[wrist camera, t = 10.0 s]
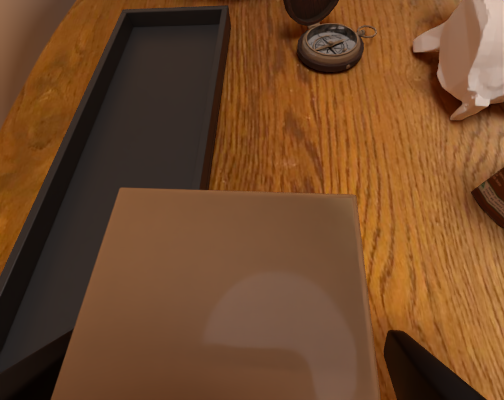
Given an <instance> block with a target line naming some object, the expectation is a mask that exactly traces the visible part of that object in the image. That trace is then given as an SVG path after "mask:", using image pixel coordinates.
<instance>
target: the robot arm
mask: <svg viewBox="0 0 504 400" xmlns="http://www.w3.org/2000/svg"><path fill="white" fill-rule="evenodd" d="M73 330H74V329H72V330H70V331H69V332H67V333H65V334H64V335H62V336H60V337H59V338H57V339H56V340H54V341H52V342H51V343H49V344H47V345H46V346H44V347H42V348H41V349H39V350H37V351H36V352H34V353H32V354H31V355H29V356H27V357H26V358H24V359H22V360H21V361H19V362H17V363H16V364H14V365H13V366H11V367H9V368H8V369H6V370H4V371H3V372H1V373H0V400H51V397H52V394H53V391H54V388H55V385H56V382H57V379H58V376H59V373H60V370H61V367H62V364H63V361H64V358H65V354H66V351H67V348H68V345H69V342H70V339H71V336H72V333H73ZM384 358H385V361H386V364H387V368H388V371H389V374H390V378H391V381H392V384H393V388H394V391H395V394H396V398H397V400H486V399H485V398H484V397H483V396H482V395H480V394H479V393H478V392H477V391H476V390H474V389H473V388H472V387H471V386H470V385H468V384H467V383H466V382H465V381H463V380H462V379H461V378H460V377H459V376H457V375H456V374H455V373H454V372H453V371H451V370H450V369H449V368H448V367H446V366H445V365H444V364H443V363H442V362H440V361H439V360H438V359H437V358H436V357H434V356H433V355H432V354H431V353H430V352H428V351H427V350H426V349H425V348H423V347H422V346H421V345H420V344H419V343H417V342H416V341H415V340H414V339H413V338H411V337H410V336H409V335H408V334H406V333H405V332H404V331H400V330H389V331H388V333H387V337H386V342H385V346H384Z"/></svg>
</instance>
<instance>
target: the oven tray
mask: <svg viewBox="0 0 504 400" xmlns="http://www.w3.org/2000/svg"><path fill="white" fill-rule="evenodd" d="M230 29H231V24H230V16H229V8H228V6H202V7H177V8H151V9H126V10H122V13H121V15H120V17H119V19H118V21H117V23H116V26H115V28H114V30H113V32H112V34H111V36H110V39H109V41H108V43H107V45H106V47H105V49H104V52H103V54H102V56H101V58H100V60H99V63H98V65H97V67H96V69H95V71H94V73H93V76H92V78H91V80H90V82H89V84H88V86H87V89H86V91H85V93H84V95H83V97H82V99H81V102H80V104H79V106H78V108H77V110H76V113H75V115H74V117H73V119H72V121H71V123H70V126H69V128H68V130H67V132H66V134H65V136H64V139H63V141H62V143H61V145H60V147H59V149H58V152H57V154H56V156H55V158H54V160H53V163H52V165H51V167H50V169H49V171H48V173H47V176H46V178H45V180H44V182H43V184H42V186H41V189H40V191H39V193H38V195H37V197H36V199H35V202H34V204H33V206H32V208H31V210H30V213H29V215H28V217H27V219H26V221H25V223H24V226H23V228H22V230H21V232H20V234H19V236H18V239H17V241H16V243H15V245H14V247H13V249H12V252H11V254H10V256H9V258H8V260H7V263H6V265H5V267H4V269H3V271H2V273H1V276H0V373H1V372H3V371H4V370H6V369H8V368H9V367H11V366H13V365H14V364H16V363H17V362H19V361H21V360H22V359H24V358H26V357H27V356H29V355H31V354H32V353H34V352H36V351H37V350H39V349H41V348H42V347H44V346H46V345H47V344H49V343H51V342H52V341H54V340H56V339H57V338H59V337H60V336H62V335H64V334H65V333H67V332H69V331H70V330H72V329H74V327H75V324H76V321H77V318H78V315H79V312H80V309H81V305H82V302H83V299H84V296H85V293H86V290H87V287H88V284H89V281H90V278H91V275H92V272H93V269H94V266H95V263H96V259H97V256H98V253H99V250H100V247H101V244H102V241H103V238H104V235H105V232H106V229H107V226H108V223H109V220H110V217H111V213H112V210H113V207H114V204H115V201H116V198H117V195H118V192H119V189H120V188H154V189H186V190H208V186H209V179H210V172H211V164H212V157H213V150H214V143H215V136H216V129H217V122H218V114H219V107H220V100H221V93H222V86H223V79H224V71H225V64H226V57H227V50H228V43H229V36H230Z"/></svg>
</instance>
